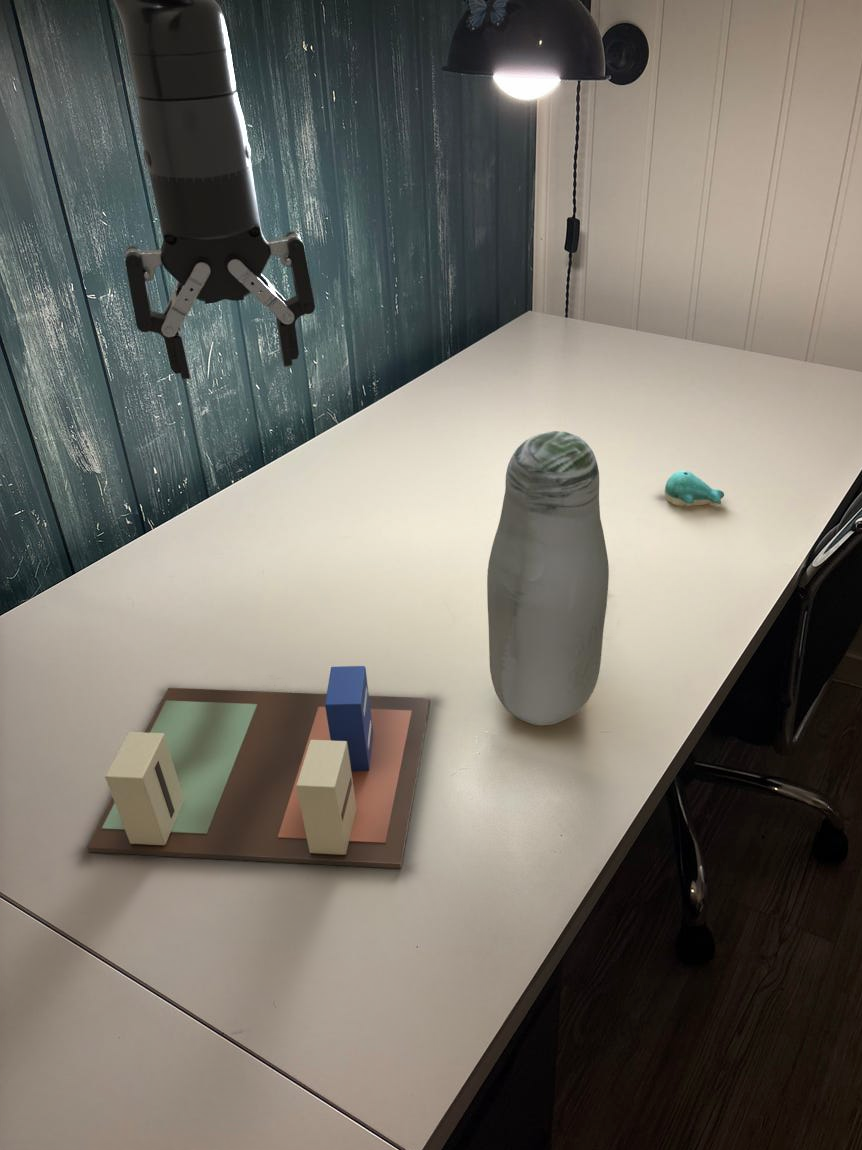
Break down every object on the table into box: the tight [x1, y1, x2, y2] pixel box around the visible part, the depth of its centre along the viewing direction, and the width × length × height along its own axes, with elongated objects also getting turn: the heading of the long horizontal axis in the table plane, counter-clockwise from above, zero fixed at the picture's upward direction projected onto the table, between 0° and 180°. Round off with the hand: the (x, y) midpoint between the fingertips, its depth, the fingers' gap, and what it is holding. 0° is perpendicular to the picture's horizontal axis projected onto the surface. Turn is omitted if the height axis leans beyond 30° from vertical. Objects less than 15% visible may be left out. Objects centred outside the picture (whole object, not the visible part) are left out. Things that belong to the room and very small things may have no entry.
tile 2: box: [296, 740, 357, 855], centre depth 76 cm, size 3×5×8 cm, turn 175°
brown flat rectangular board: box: [86, 687, 431, 869], centre depth 85 cm, size 26×20×1 cm
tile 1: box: [104, 731, 184, 845], centre depth 77 cm, size 3×5×8 cm, turn 176°
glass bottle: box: [486, 430, 610, 726], centre depth 82 cm, size 10×10×28 cm
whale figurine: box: [664, 470, 725, 507], centre depth 120 cm, size 6×7×4 cm
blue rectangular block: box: [325, 665, 373, 771], centre depth 83 cm, size 3×5×8 cm, turn 1°
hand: (237, 370), depth 81 cm, fingers open, 8 cm apart
